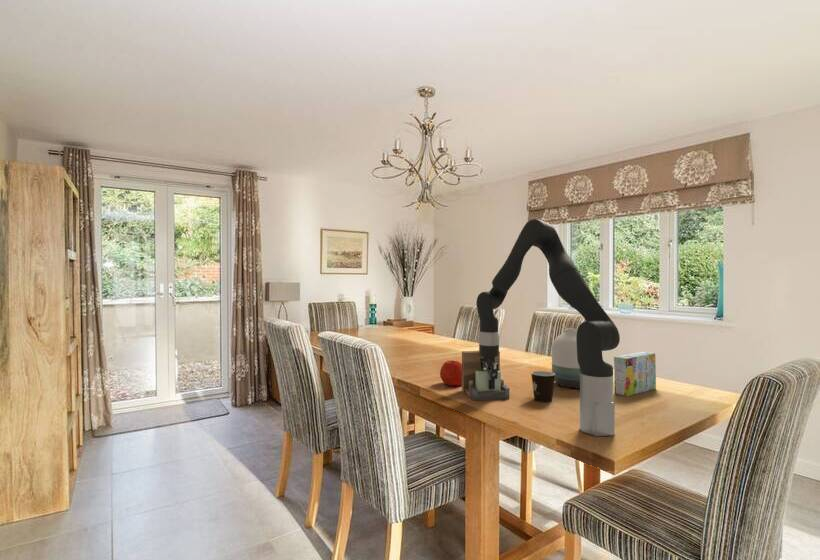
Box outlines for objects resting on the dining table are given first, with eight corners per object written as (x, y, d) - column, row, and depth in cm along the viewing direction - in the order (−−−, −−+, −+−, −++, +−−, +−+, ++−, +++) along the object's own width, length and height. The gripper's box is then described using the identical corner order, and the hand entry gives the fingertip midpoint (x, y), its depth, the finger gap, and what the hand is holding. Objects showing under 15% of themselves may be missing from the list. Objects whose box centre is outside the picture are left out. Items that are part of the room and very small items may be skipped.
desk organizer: (510, 398, 167) (510, 356, 167) (472, 400, 165) (472, 357, 164) (497, 389, 181) (497, 350, 181) (461, 390, 179) (461, 351, 179)
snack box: (643, 386, 186) (643, 351, 186) (656, 389, 181) (656, 352, 181) (613, 393, 174) (613, 355, 174) (626, 397, 170) (626, 358, 170)
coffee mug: (556, 403, 160) (556, 376, 160) (532, 402, 162) (532, 375, 162) (552, 395, 172) (552, 369, 172) (529, 394, 174) (530, 368, 173)
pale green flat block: (500, 398, 168) (500, 372, 168) (477, 399, 167) (478, 372, 166) (497, 396, 171) (497, 370, 171) (475, 397, 170) (475, 371, 169)
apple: (435, 384, 189) (435, 359, 189) (452, 380, 197) (452, 356, 197) (453, 389, 181) (453, 363, 181) (470, 384, 189) (470, 360, 189)
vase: (566, 391, 177) (566, 332, 177) (544, 381, 194) (544, 327, 193) (603, 389, 181) (603, 331, 181) (578, 379, 198) (578, 326, 197)
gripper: (505, 346, 162) (505, 391, 162) (491, 340, 176) (491, 382, 177) (485, 346, 161) (485, 392, 161) (473, 340, 175) (473, 383, 175)
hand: (488, 387), depth 169 cm, fingers open, 5 cm apart
